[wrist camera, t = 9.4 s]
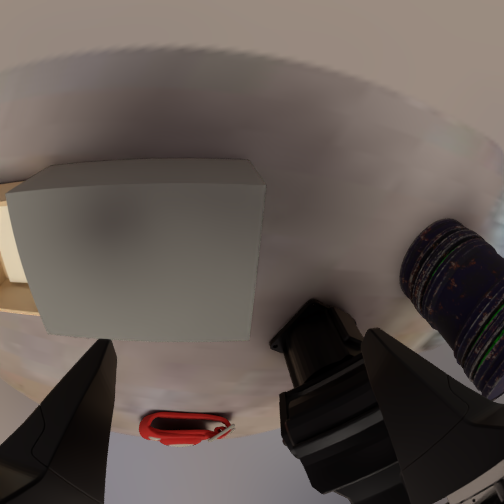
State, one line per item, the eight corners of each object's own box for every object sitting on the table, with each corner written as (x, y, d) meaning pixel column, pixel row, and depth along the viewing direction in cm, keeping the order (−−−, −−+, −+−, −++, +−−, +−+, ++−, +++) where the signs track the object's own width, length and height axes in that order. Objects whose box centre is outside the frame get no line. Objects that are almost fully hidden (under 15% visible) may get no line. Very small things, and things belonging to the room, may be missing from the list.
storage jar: (477, 233, 25) (568, 312, 13) (436, 304, 30) (506, 394, 17) (430, 203, 22) (555, 301, 10) (381, 292, 27) (465, 413, 14)
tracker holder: (189, 448, 36) (130, 446, 30) (186, 422, 39) (128, 416, 33) (246, 440, 31) (178, 441, 25) (240, 408, 34) (174, 403, 28)
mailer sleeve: (248, 159, 19) (266, 185, 14) (238, 286, 23) (249, 340, 18) (51, 165, 16) (5, 193, 11) (72, 284, 21) (47, 334, 16)
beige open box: (137, 160, 17) (82, 218, 9) (148, 290, 22) (129, 391, 14) (-21, 178, 14) (-99, 231, 6) (6, 284, 19) (-41, 358, 11)
